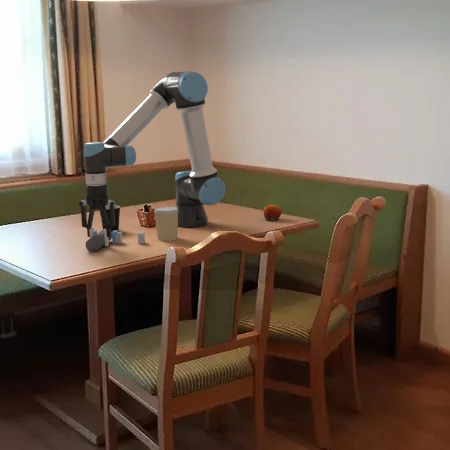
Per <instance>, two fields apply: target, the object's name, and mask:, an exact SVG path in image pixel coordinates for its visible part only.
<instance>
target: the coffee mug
mask: <svg viewBox="0 0 450 450" xmlns="http://www.w3.org/2000/svg"><path fill="white" fill-rule="evenodd" d="M105 207H106V212H107V215H108V218H109V222H110V211H109V207H110V206H109V205H105ZM114 210H115V226H114V227H112V228H111V232H113V231H114V230H119V231H120V211H121V206H120V205H116V204H115V206H114ZM99 215H100V222H101V226H102V230H103V229H105V228H106V227H105V223H104V220H103V217H102V214H101V212H100V211H99Z"/></svg>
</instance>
